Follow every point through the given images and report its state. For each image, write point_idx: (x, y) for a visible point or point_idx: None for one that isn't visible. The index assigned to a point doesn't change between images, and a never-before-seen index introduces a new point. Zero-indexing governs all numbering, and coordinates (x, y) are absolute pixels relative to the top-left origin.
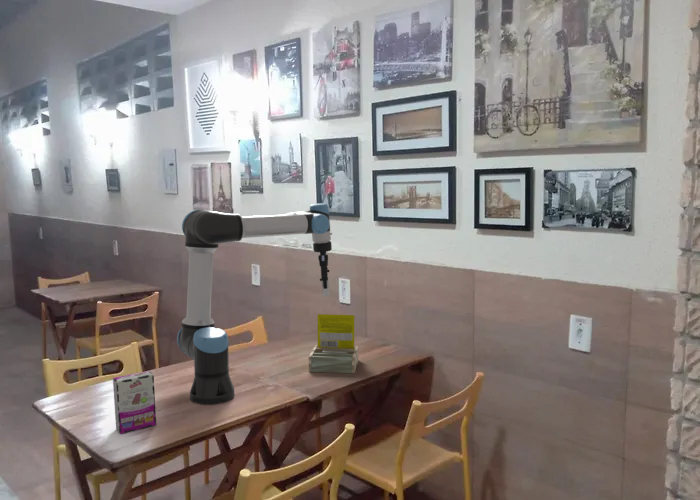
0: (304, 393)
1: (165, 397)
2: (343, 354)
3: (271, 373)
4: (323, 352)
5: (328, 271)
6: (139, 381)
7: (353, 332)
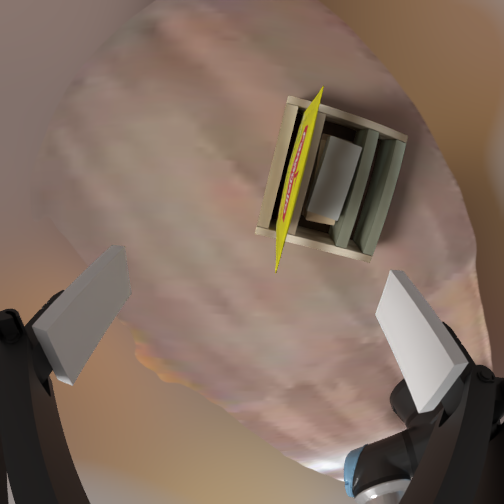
0: (465, 266)
1: (392, 427)
2: (369, 158)
3: (349, 325)
4: (338, 216)
5: (16, 326)
6: None
7: (311, 104)
